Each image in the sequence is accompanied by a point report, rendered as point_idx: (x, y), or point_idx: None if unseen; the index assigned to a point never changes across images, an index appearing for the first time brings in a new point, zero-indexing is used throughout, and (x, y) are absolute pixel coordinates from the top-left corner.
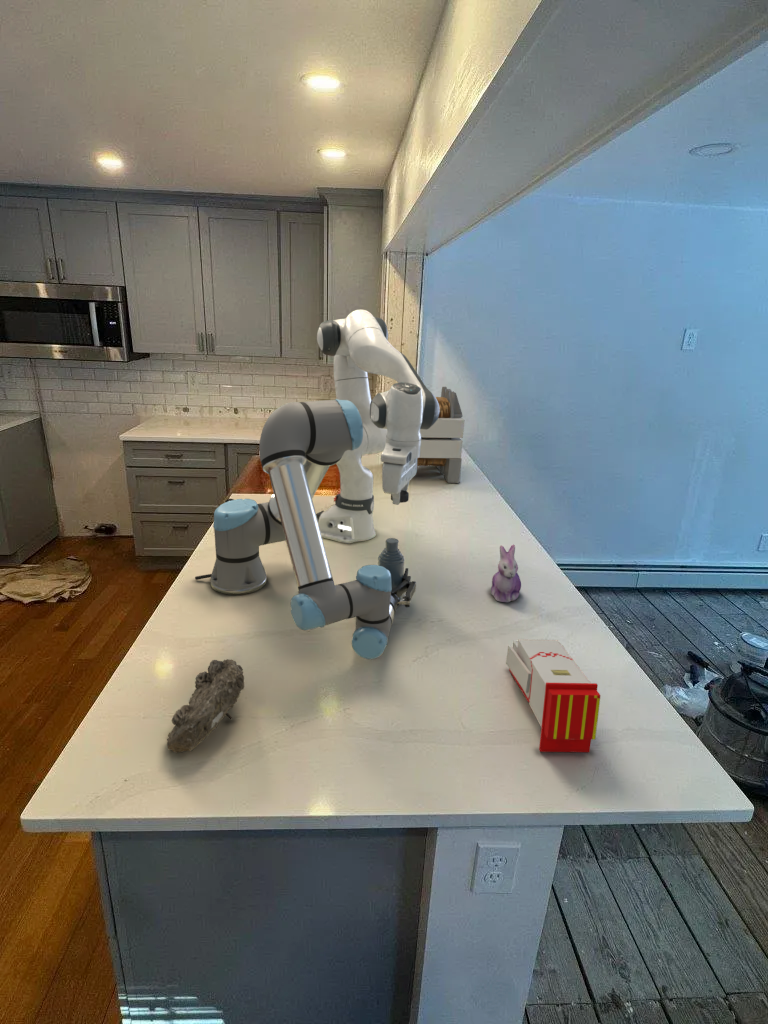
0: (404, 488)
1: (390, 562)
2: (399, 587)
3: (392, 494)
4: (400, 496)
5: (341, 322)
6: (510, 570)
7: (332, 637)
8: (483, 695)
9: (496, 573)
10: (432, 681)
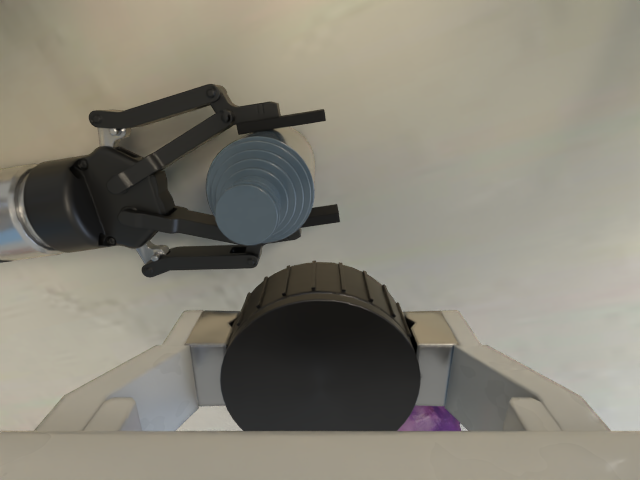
0: (470, 403)
1: (209, 205)
2: (196, 231)
3: (106, 380)
4: (229, 405)
5: None
6: None
7: (17, 82)
8: (29, 411)
9: (433, 422)
10: (10, 335)
